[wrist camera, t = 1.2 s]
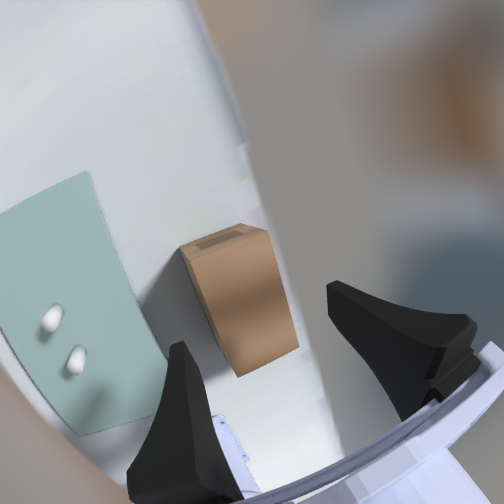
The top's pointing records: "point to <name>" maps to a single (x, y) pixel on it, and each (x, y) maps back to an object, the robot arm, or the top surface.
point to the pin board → (76, 311)
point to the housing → (242, 295)
